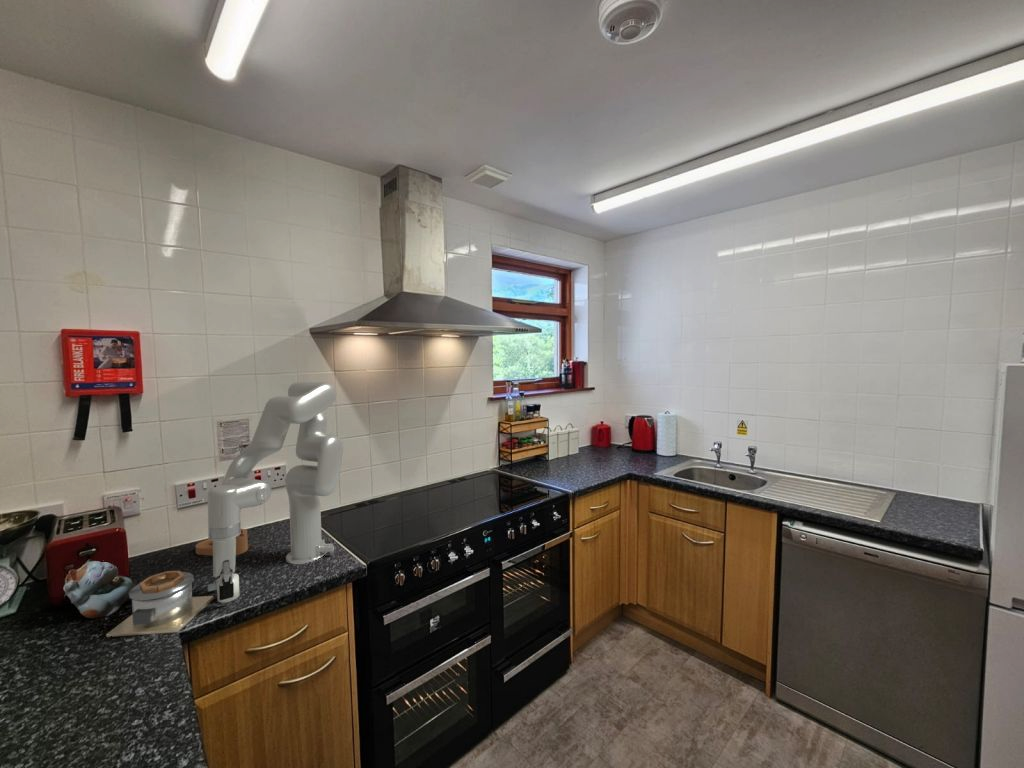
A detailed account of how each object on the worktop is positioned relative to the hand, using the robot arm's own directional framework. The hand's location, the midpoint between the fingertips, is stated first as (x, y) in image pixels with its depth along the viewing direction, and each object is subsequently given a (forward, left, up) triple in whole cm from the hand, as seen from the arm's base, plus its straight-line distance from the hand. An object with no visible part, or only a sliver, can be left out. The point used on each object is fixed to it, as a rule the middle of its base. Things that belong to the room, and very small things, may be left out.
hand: (226, 590), depth 119 cm
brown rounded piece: (+19, -33, -3) cm, 38 cm away
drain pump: (0, -1, -3) cm, 3 cm away
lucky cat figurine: (+31, +1, -3) cm, 32 cm away
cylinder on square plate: (+11, +7, -3) cm, 14 cm away
